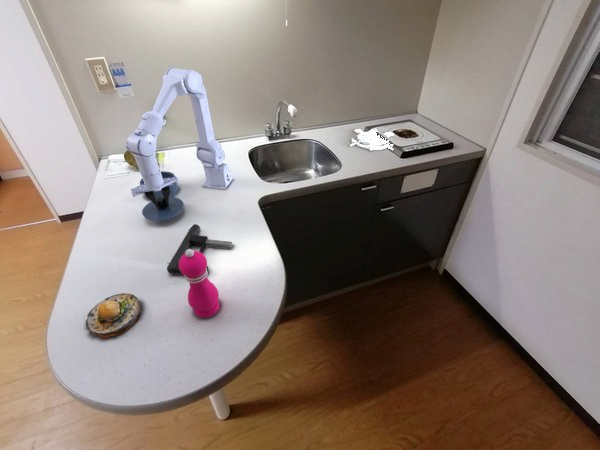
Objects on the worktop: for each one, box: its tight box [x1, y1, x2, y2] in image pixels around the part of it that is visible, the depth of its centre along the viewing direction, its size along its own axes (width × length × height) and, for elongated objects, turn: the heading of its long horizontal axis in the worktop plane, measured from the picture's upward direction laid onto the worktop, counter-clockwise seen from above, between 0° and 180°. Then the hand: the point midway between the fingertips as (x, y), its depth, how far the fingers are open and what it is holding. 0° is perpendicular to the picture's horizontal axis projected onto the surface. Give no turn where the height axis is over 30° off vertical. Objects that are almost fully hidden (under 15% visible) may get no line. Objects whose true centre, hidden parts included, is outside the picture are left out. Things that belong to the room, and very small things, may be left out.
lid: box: [141, 196, 185, 222], centre depth 105 cm, size 14×14×5 cm
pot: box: [139, 170, 180, 200], centre depth 118 cm, size 13×13×6 cm
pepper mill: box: [179, 248, 220, 319], centre depth 71 cm, size 7×7×20 cm
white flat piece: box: [349, 128, 395, 152], centre depth 159 cm, size 21×28×1 cm
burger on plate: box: [85, 292, 143, 339], centre depth 73 cm, size 12×12×8 cm
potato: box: [123, 150, 139, 170], centre depth 134 cm, size 8×13×8 cm, turn 60°
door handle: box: [166, 223, 233, 275], centre depth 92 cm, size 3×20×16 cm
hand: (162, 206), depth 105 cm, fingers closed on lid, 2 cm apart
